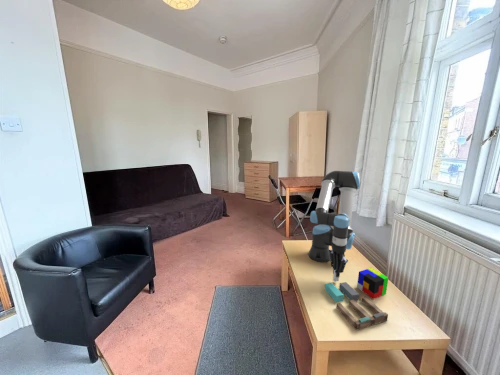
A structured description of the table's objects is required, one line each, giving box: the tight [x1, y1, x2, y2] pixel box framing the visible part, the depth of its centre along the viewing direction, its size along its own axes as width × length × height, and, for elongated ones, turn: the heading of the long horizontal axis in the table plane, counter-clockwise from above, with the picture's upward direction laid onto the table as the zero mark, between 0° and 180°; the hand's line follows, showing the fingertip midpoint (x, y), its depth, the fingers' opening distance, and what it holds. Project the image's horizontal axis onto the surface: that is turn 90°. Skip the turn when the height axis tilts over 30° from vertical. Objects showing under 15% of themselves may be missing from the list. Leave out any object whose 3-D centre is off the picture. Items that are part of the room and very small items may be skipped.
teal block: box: [324, 282, 345, 304], centre depth 111 cm, size 10×4×4 cm, turn 14°
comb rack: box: [335, 296, 389, 331], centre depth 99 cm, size 13×18×4 cm
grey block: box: [338, 281, 360, 302], centre depth 112 cm, size 10×4×4 cm, turn 14°
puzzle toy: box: [356, 267, 389, 300], centre depth 114 cm, size 10×10×10 cm
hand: (335, 280), depth 121 cm, fingers closed
